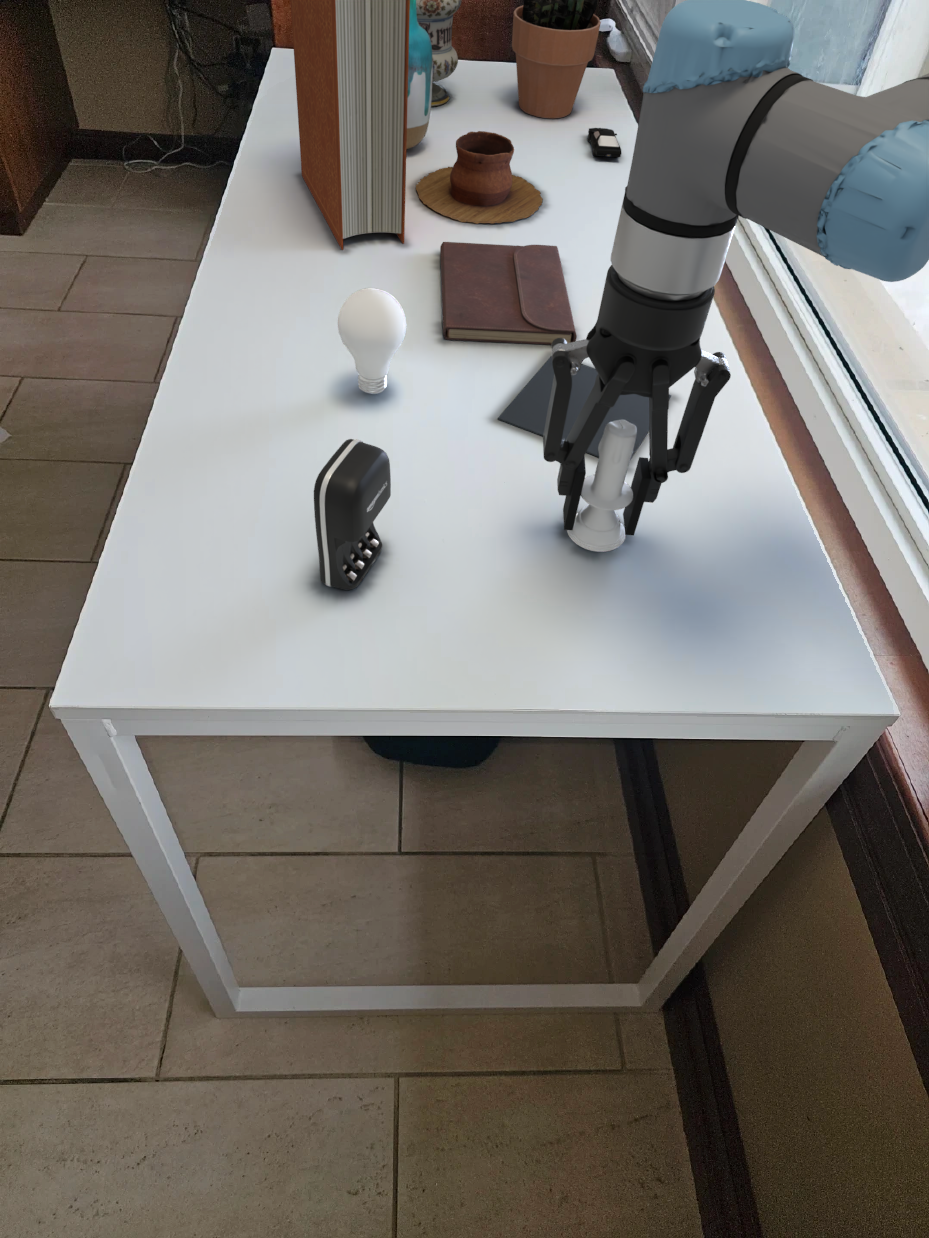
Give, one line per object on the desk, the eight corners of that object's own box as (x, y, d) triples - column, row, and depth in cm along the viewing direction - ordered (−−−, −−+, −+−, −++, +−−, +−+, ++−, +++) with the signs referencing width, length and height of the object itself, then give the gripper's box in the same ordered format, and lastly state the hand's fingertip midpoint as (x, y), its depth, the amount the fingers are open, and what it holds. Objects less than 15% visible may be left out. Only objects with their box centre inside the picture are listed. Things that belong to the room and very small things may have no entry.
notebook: (442, 339, 97) (443, 323, 95) (440, 253, 110) (440, 238, 108) (575, 346, 98) (578, 330, 97) (557, 260, 111) (559, 245, 109)
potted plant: (507, 89, 149) (526, -96, 130) (586, 99, 149) (616, -85, 130) (501, 119, 140) (520, -75, 121) (585, 129, 140) (617, -63, 121)
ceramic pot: (565, 215, 120) (574, 161, 114) (450, 233, 114) (453, 177, 108) (505, 161, 130) (510, 110, 124) (395, 176, 124) (396, 122, 118)
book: (404, 243, 111) (410, -44, 88) (341, 250, 108) (331, -44, 86) (356, 168, 124) (351, -99, 101) (299, 172, 122) (281, -100, 99)
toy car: (585, 135, 139) (588, 117, 136) (610, 136, 139) (613, 118, 137) (594, 161, 132) (597, 142, 130) (620, 163, 132) (624, 144, 130)
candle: (558, 541, 77) (582, 431, 68) (576, 504, 80) (601, 395, 71) (616, 560, 76) (648, 451, 67) (631, 522, 79) (664, 414, 70)
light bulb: (332, 405, 88) (328, 305, 79) (349, 369, 92) (346, 270, 84) (397, 416, 87) (399, 316, 79) (410, 378, 92) (413, 281, 83)
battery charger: (359, 601, 71) (356, 496, 62) (317, 586, 72) (309, 480, 63) (394, 547, 75) (397, 441, 67) (355, 533, 76) (352, 427, 67)
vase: (396, 126, 135) (398, -22, 121) (444, 149, 131) (452, -2, 116) (344, 142, 130) (339, -11, 115) (392, 167, 125) (394, 11, 111)
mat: (671, 396, 93) (671, 395, 93) (625, 467, 85) (625, 466, 85) (552, 355, 97) (552, 353, 96) (497, 419, 88) (497, 417, 88)
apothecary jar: (464, 109, 142) (473, -24, 128) (392, 111, 139) (393, -25, 125) (444, 82, 149) (451, -46, 136) (376, 83, 146) (376, -48, 133)
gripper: (779, 259, 62) (691, 502, 80) (533, 236, 62) (499, 486, 79) (801, 314, 57) (702, 560, 75) (534, 289, 57) (498, 543, 74)
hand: (598, 521), depth 77 cm, fingers closed on candle, 5 cm apart
